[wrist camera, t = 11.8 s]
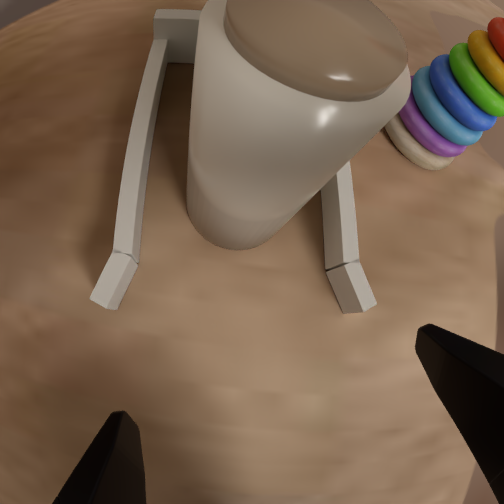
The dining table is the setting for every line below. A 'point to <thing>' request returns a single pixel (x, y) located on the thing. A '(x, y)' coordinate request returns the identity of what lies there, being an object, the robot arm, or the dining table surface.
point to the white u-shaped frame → (136, 170)
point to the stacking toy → (452, 100)
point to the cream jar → (283, 107)
